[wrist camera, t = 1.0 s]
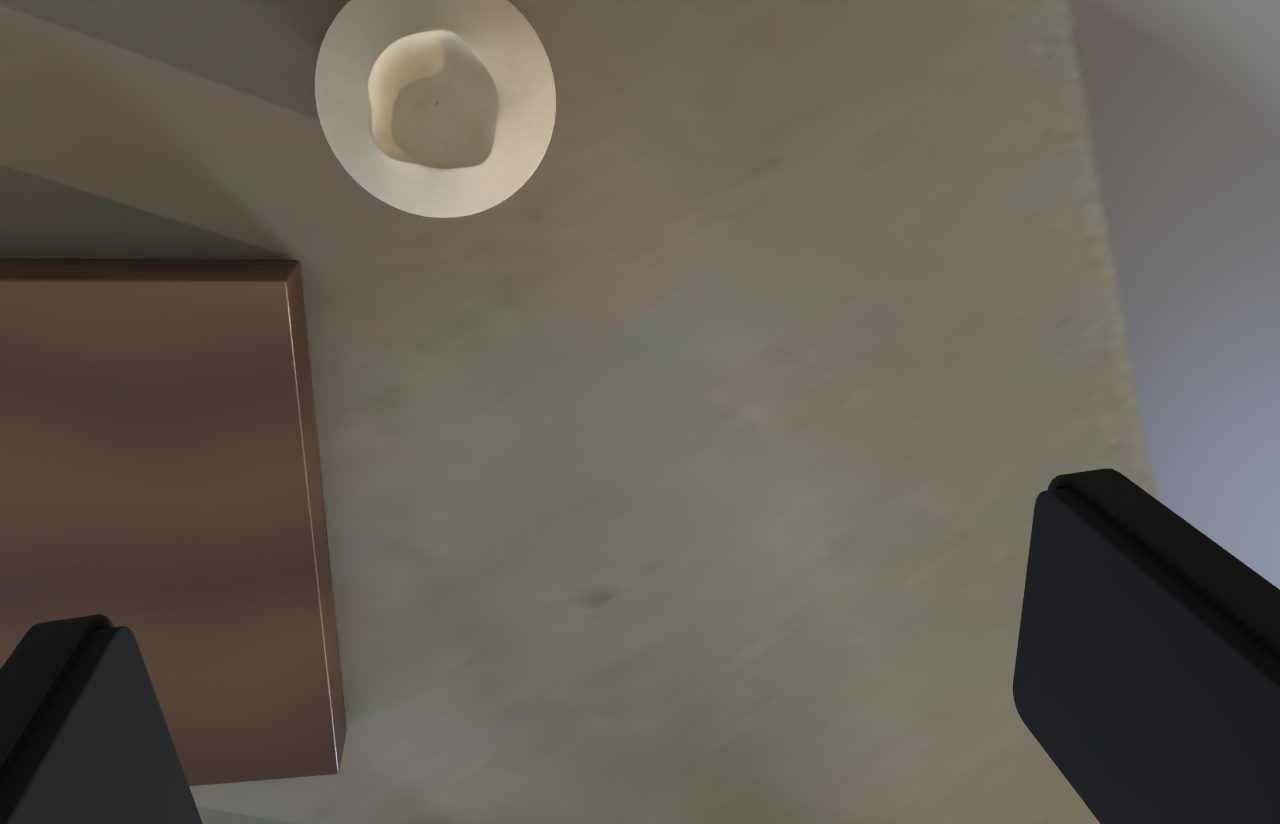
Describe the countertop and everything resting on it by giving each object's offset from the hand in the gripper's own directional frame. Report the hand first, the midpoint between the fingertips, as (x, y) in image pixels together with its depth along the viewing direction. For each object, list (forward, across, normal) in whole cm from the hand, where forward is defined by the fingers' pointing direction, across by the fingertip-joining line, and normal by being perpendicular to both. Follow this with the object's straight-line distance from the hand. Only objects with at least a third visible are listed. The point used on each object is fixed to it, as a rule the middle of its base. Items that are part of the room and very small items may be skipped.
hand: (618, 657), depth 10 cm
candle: (+24, +2, -4) cm, 25 cm away
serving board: (+24, +17, +10) cm, 31 cm away
